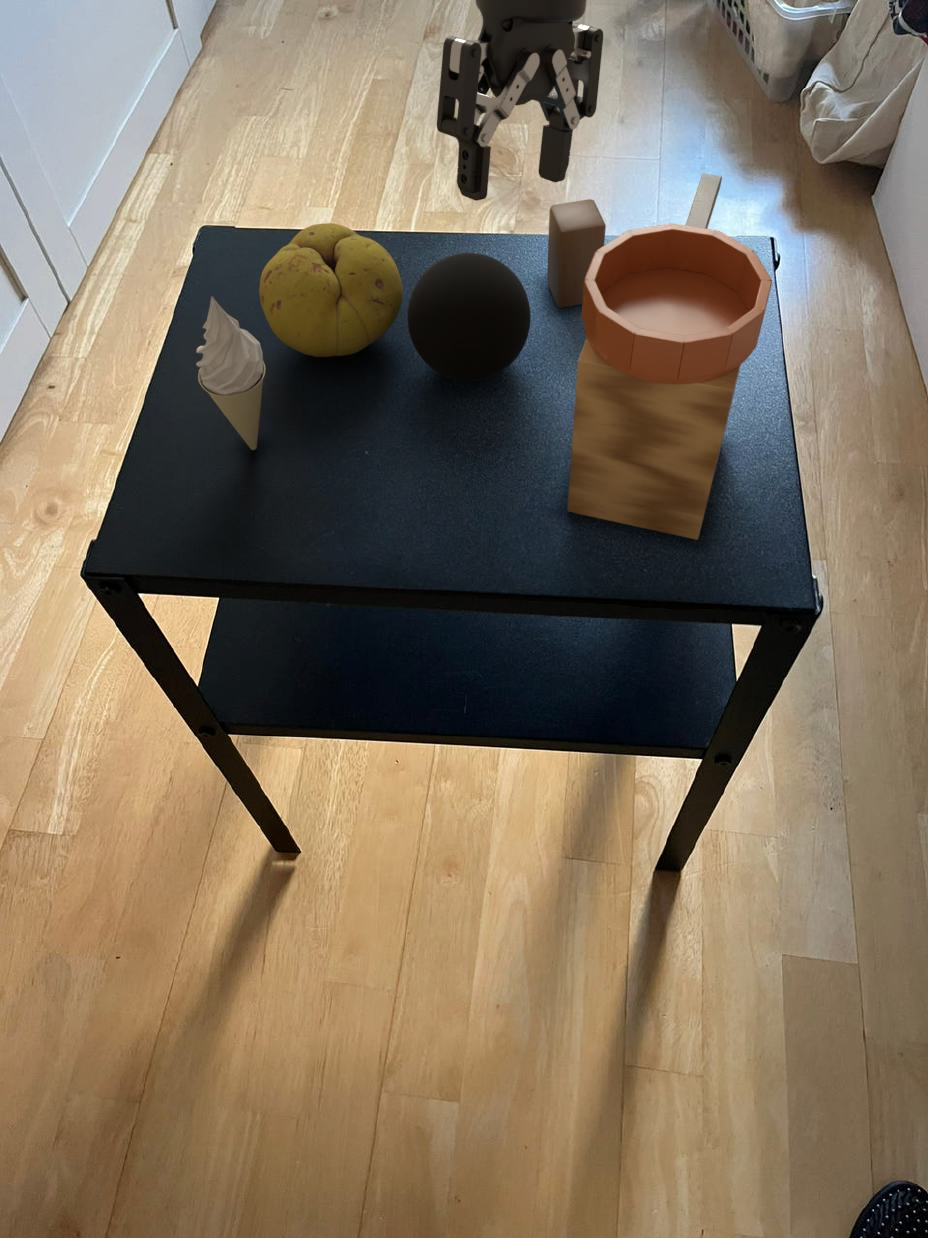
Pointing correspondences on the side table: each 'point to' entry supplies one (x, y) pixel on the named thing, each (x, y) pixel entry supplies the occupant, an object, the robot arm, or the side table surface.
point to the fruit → (330, 291)
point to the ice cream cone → (232, 372)
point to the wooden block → (572, 248)
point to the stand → (645, 446)
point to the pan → (676, 298)
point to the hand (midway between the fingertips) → (513, 187)
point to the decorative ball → (469, 317)
